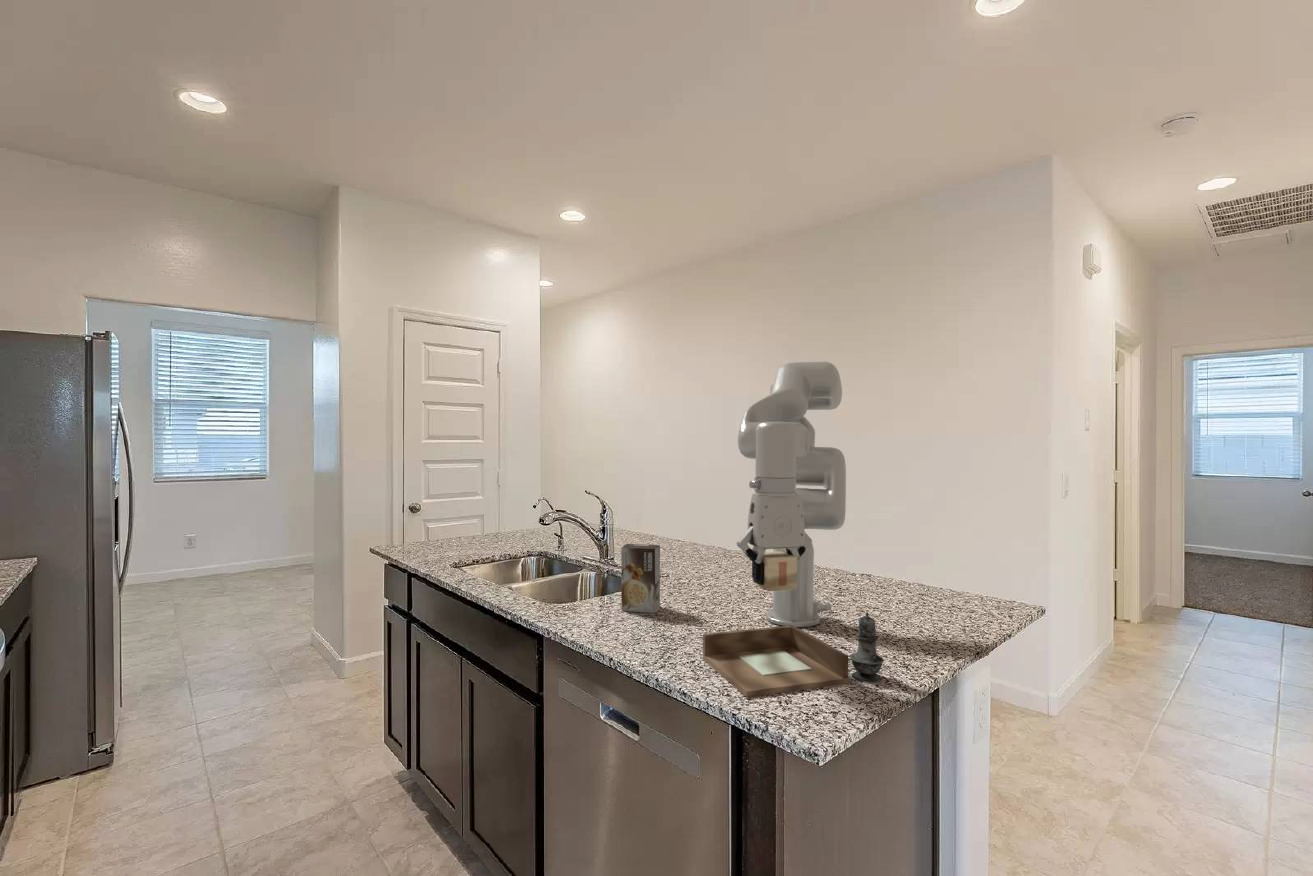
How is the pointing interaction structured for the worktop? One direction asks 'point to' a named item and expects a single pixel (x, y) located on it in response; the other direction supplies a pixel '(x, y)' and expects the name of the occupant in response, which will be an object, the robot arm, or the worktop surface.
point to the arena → (774, 660)
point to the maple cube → (779, 571)
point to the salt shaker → (866, 653)
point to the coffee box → (640, 578)
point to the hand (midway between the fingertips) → (774, 581)
